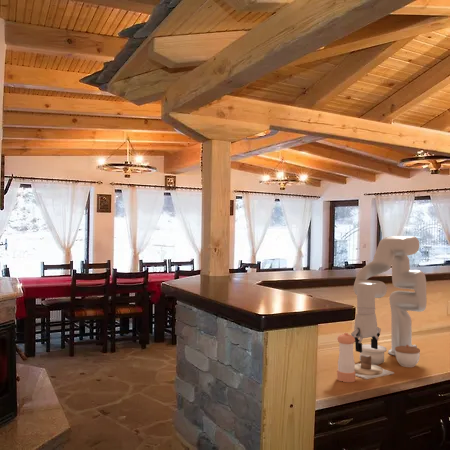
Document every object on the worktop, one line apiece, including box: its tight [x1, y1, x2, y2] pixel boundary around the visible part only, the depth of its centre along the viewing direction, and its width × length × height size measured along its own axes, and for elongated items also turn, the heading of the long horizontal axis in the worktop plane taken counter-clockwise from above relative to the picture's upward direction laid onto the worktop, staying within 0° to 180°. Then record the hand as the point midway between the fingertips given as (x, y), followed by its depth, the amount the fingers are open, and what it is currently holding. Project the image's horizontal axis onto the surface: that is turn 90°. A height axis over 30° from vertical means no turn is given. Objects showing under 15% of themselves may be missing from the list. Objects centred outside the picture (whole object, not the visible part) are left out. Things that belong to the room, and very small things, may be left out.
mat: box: [355, 368, 395, 380], centre depth 212 cm, size 17×16×1 cm
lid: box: [354, 355, 384, 375], centre depth 212 cm, size 14×14×6 cm
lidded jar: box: [394, 345, 421, 368], centre depth 223 cm, size 11×11×9 cm
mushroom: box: [359, 343, 387, 366], centre depth 228 cm, size 13×13×7 cm
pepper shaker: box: [336, 332, 356, 383], centre depth 200 cm, size 7×7×19 cm
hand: (366, 350), depth 212 cm, fingers open, 9 cm apart
